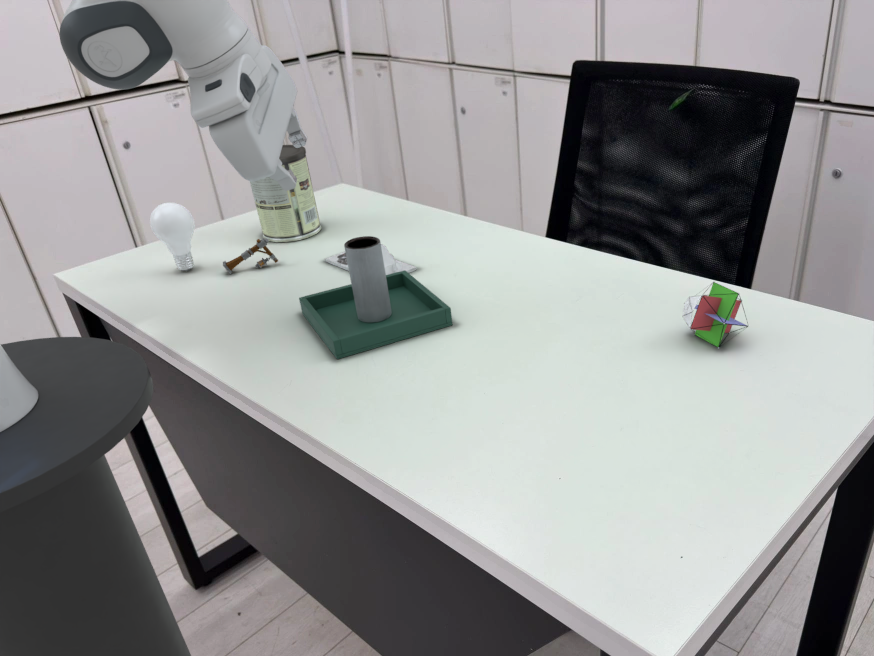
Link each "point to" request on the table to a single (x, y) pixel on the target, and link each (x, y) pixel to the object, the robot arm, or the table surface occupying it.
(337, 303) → the tray
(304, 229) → the coffee can
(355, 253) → the planter
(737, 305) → the geometric puzzle
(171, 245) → the lightbulb
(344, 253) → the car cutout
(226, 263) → the wooden post with brackets
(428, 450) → the table surface
